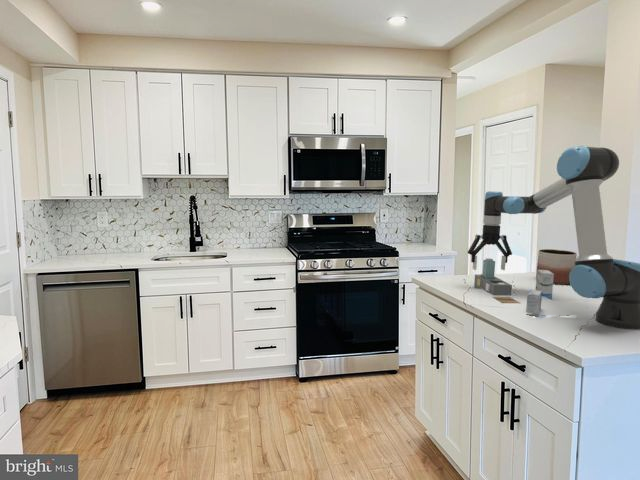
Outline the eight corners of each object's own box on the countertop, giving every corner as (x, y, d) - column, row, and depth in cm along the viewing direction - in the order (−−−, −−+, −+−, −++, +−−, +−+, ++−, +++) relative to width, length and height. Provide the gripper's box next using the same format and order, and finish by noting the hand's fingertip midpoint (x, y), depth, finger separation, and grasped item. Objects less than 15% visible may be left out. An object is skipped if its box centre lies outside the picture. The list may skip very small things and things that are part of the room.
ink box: (552, 300, 193) (554, 273, 191) (539, 299, 194) (542, 273, 192) (546, 295, 201) (548, 269, 199) (534, 294, 202) (536, 269, 200)
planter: (539, 276, 243) (541, 248, 241) (576, 281, 233) (579, 251, 231) (532, 281, 229) (535, 251, 227) (571, 287, 219) (574, 255, 216)
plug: (493, 286, 207) (495, 259, 206) (485, 286, 207) (486, 259, 206) (489, 284, 211) (491, 258, 210) (481, 284, 211) (483, 258, 210)
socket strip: (511, 298, 194) (512, 284, 193) (492, 298, 194) (493, 284, 193) (490, 286, 216) (491, 273, 215) (473, 286, 215) (474, 273, 214)
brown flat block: (520, 306, 181) (521, 303, 181) (501, 306, 181) (501, 303, 180) (509, 300, 191) (509, 296, 191) (491, 300, 190) (491, 296, 190)
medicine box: (538, 317, 166) (540, 295, 165) (525, 315, 169) (527, 293, 168) (540, 312, 173) (542, 291, 172) (528, 310, 175) (530, 289, 174)
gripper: (514, 224, 210) (511, 268, 212) (462, 223, 209) (459, 267, 212) (522, 225, 202) (518, 271, 205) (468, 225, 201) (465, 270, 204)
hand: (488, 269), depth 208 cm, fingers open, 13 cm apart
